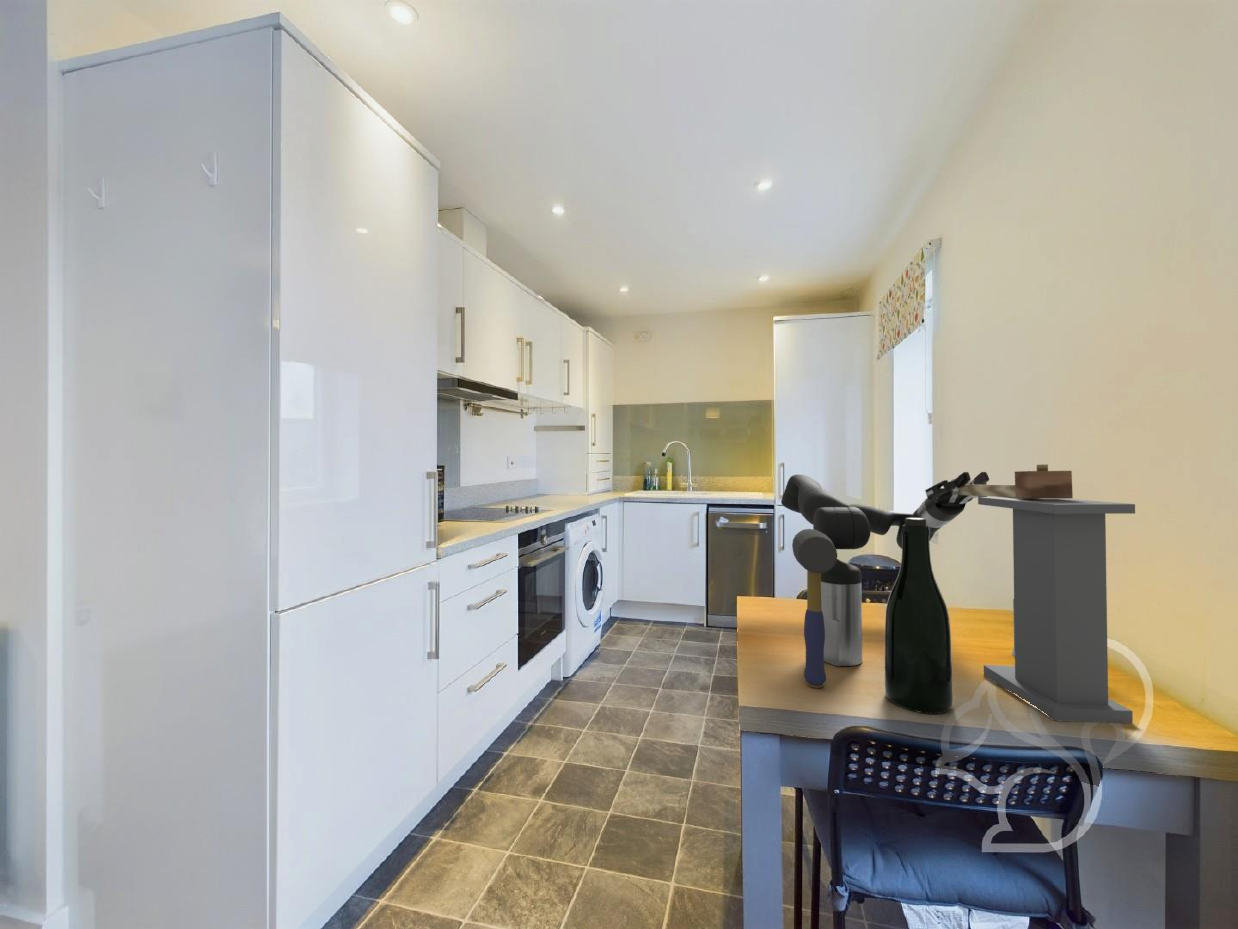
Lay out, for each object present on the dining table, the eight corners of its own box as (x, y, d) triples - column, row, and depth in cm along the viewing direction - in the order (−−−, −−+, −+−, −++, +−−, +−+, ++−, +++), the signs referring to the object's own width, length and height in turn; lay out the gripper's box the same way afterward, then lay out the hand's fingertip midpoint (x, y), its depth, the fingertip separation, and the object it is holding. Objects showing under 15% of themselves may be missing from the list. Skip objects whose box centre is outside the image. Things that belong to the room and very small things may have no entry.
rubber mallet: (842, 702, 89) (839, 535, 89) (797, 698, 91) (795, 534, 91) (830, 674, 101) (828, 527, 101) (791, 671, 103) (789, 526, 103)
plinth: (1138, 726, 80) (1135, 504, 80) (1058, 723, 81) (1055, 504, 81) (1043, 674, 100) (1041, 496, 100) (980, 673, 101) (978, 497, 101)
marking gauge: (1072, 498, 90) (1071, 464, 90) (1031, 498, 90) (1029, 464, 90) (978, 494, 116) (977, 468, 117) (946, 494, 117) (945, 468, 117)
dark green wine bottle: (944, 693, 92) (942, 515, 92) (960, 720, 83) (957, 521, 83) (881, 685, 96) (879, 514, 96) (889, 710, 86) (886, 520, 86)
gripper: (974, 521, 124) (1016, 490, 109) (914, 521, 125) (948, 490, 110) (964, 494, 127) (1004, 460, 112) (907, 495, 129) (938, 461, 114)
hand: (976, 475), depth 111 cm, fingers open, 3 cm apart
